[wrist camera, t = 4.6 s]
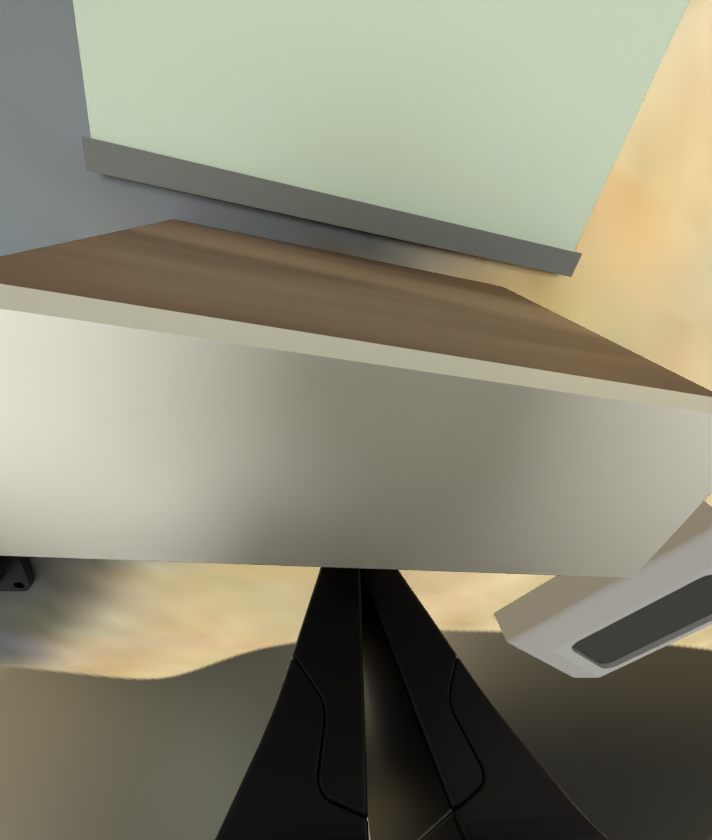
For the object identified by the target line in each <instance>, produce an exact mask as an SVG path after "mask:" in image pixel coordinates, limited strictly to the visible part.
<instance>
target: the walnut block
mask: <svg viewBox="0 0 712 840" xmlns="http://www.w3.org/2000/svg"><path fill="white" fill-rule="evenodd" d="M711 493H712V391H710V390H708V389H706V388H704V387H702V386H700V385H698V384H696V383H694V382H692V381H690V380H688V379H686V378H684V377H682V376H680V375H678V374H676V373H674V372H672V371H670V370H668V369H666V368H664V367H662V366H660V365H658V364H656V363H654V362H652V361H650V360H648V359H646V358H644V357H642V356H640V355H638V354H636V353H634V352H632V351H630V350H628V349H626V348H624V347H622V346H620V345H618V344H616V343H614V342H612V341H610V340H608V339H606V338H604V337H602V336H600V335H598V334H596V333H594V332H592V331H590V330H588V329H586V328H584V327H582V326H580V325H578V324H576V323H574V322H572V321H570V320H568V319H566V318H564V317H562V316H560V315H558V314H556V313H554V312H552V311H550V310H548V309H546V308H544V307H542V306H540V305H538V304H536V303H534V302H532V301H530V300H528V299H526V298H524V297H522V296H520V295H518V294H516V293H514V292H512V291H510V290H508V289H506V288H504V287H501V286H496V285H491V284H486V283H481V282H476V281H472V280H467V279H462V278H457V277H452V276H447V275H442V274H437V273H432V272H428V271H423V270H418V269H413V268H408V267H403V266H398V265H393V264H389V263H384V262H379V261H374V260H369V259H364V258H359V257H354V256H349V255H345V254H340V253H335V252H330V251H325V250H320V249H315V248H310V247H306V246H301V245H296V244H291V243H286V242H281V241H276V240H271V239H266V238H262V237H257V236H252V235H247V234H242V233H237V232H232V231H227V230H223V229H218V228H213V227H208V226H203V225H198V224H193V223H188V222H183V221H179V220H174V219H173V220H168V221H164V222H159V223H154V224H150V225H145V226H140V227H136V228H131V229H127V230H122V231H117V232H113V233H108V234H103V235H99V236H94V237H89V238H85V239H80V240H76V241H71V242H66V243H62V244H57V245H52V246H48V247H43V248H39V249H34V250H29V251H25V252H20V253H15V254H11V255H6V256H1V257H0V556H27V557H56V558H84V559H112V560H140V561H168V562H197V563H225V564H253V565H281V566H310V567H338V568H366V569H394V570H422V571H451V572H479V573H507V574H535V575H563V576H592V577H620V578H633V577H634V576H635V575H636V574H637V573H638V572H639V571H640V570H641V569H642V567H643V566H644V565H645V564H646V563H647V562H648V561H649V560H650V559H651V558H652V557H653V556H654V554H655V553H656V552H657V551H658V550H659V549H660V548H661V547H662V546H663V545H664V544H665V542H666V541H667V540H668V539H669V538H670V537H671V536H672V535H673V534H674V533H675V532H676V531H677V529H678V528H679V527H680V526H681V525H682V524H683V523H684V522H685V521H686V520H687V519H688V517H689V516H690V515H691V514H692V513H693V512H694V511H695V510H696V509H697V508H698V507H699V506H700V504H701V503H702V502H703V501H704V500H705V499H706V498H707V497H708V496H709V495H710V494H711Z"/></svg>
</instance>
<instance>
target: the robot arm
mask: <svg viewBox="0 0 712 840" xmlns="http://www.w3.org/2000/svg"><path fill="white" fill-rule="evenodd" d="M34 581H35V579H34V576H33V573H32V571H31V568H30V566H29V563H28V560H27V558H26V556H0V591H26V590H29V588H30V587H31V586H32V584H33V583H34ZM456 656H457V655H456V653H455V651H454V650H453V648H452V647H451V645H450V644H449V642H448V641H447V640H446V638H445V637H444V635H443V634H442V632H441V631H440V630H439V628H438V627H437V625H436V624H435V622H434V621H433V619H432V618H431V617H430V615H429V614H428V612H427V611H426V609H425V608H424V607H423V605H422V604H421V602H420V601H419V599H418V598H417V596H416V595H415V594H414V592H413V591H412V589H411V588H410V586H409V585H408V583H407V582H406V581H405V579H404V578H403V576H402V575H401V573H400V572H399V571H398V570H394V569H366V568H338V567H321V569H320V572H319V575H318V578H317V581H316V584H315V587H314V590H313V593H312V596H311V599H310V602H309V605H308V608H307V611H306V614H305V618H304V621H303V624H302V627H301V630H300V633H299V636H298V639H297V642H296V645H295V649H294V652H293V654H292V658H291V660H290V663H289V666H288V669H287V672H286V675H285V678H284V681H283V684H282V687H281V690H280V692H279V695H278V698H277V701H276V703H275V706H274V709H273V711H272V714H271V716H270V718H269V721H268V723H267V725H266V728H265V730H264V733H263V735H262V737H261V739H260V742H259V744H258V746H257V748H256V750H255V753H254V755H253V757H252V759H251V761H250V764H249V766H248V768H247V770H246V772H245V774H244V777H243V779H242V781H241V783H240V785H239V787H238V790H237V792H236V794H235V796H234V798H233V801H232V803H231V805H230V807H229V809H228V811H227V813H226V816H225V818H224V820H223V822H222V825H221V827H220V829H219V831H218V833H217V835H216V838H215V839H214V840H369V837H368V836H369V835H368V822H367V820H366V819H367V817H368V821H369V829H370V837H371V840H610V839H609V838H607V837H606V836H605V835H604V834H603V833H602V832H601V831H600V830H599V829H598V828H597V827H596V826H595V825H594V824H592V823H591V821H589V819H588V818H587V817H586V816H585V815H584V814H583V813H582V812H581V811H580V810H579V809H578V808H577V806H576V805H575V804H574V803H573V802H572V801H571V799H569V797H568V796H567V795H566V793H565V792H564V791H563V790H562V789H561V787H560V786H559V785H558V784H557V783H556V781H555V780H554V779H553V778H552V777H551V775H550V774H549V773H548V772H547V770H546V769H545V768H544V767H543V766H542V764H541V763H540V762H539V761H538V759H537V758H536V757H535V756H534V755H533V754H532V752H531V751H530V750H529V749H528V747H527V746H526V745H525V744H524V742H523V741H522V740H521V739H520V738H519V736H518V735H517V734H516V733H515V732H514V730H513V729H512V728H511V727H510V725H509V724H508V723H507V722H506V721H505V719H504V718H503V717H502V715H501V714H500V713H499V711H498V710H497V709H496V708H495V706H494V705H493V704H492V703H491V701H490V700H489V699H488V697H487V696H486V695H485V693H484V692H483V690H482V689H481V688H480V687H479V685H478V684H477V682H476V681H475V680H474V678H473V677H472V675H471V674H470V672H469V671H468V670H467V668H466V667H465V665H464V664H463V662H462V661H461V660H460V658H456Z"/></svg>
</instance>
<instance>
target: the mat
mask: <svg viewBox="0 0 712 840" xmlns="http://www.w3.org/2000/svg"><path fill="white" fill-rule="evenodd" d="M688 2H689V0H73V5H74V13H75V20H76V28H77V35H78V43H79V51H80V58H81V66H82V73H83V81H84V88H85V96H86V103H87V111H88V118H89V126H90V133H91V138H88V137H84V136H82V139H83V146H84V153H85V160H86V167H87V171H91V172H96V173H100V174H105V175H109V176H114V177H118V178H123V179H127V180H132V181H137V182H141V183H146V184H150V185H155V186H159V187H164V188H168V189H173V190H178V191H182V192H187V193H191V194H196V195H200V196H205V197H209V198H214V199H219V200H223V201H228V202H232V203H237V204H241V205H246V206H250V207H255V208H260V209H264V210H269V211H273V212H278V213H282V214H287V215H291V216H296V217H301V218H305V219H310V220H314V221H319V222H323V223H328V224H332V225H337V226H341V227H346V228H351V229H355V230H360V231H364V232H369V233H373V234H378V235H382V236H387V237H392V238H396V239H401V240H405V241H410V242H414V243H419V244H423V245H428V246H433V247H437V248H442V249H446V250H451V251H455V252H460V253H464V254H469V255H474V256H478V257H483V258H487V259H492V260H496V261H501V262H505V263H510V264H515V265H519V266H524V267H528V268H533V269H537V270H542V271H546V272H551V273H556V274H560V275H565V276H569V277H571V276H572V274H573V272H574V270H575V267H576V265H577V263H578V261H579V259H580V257H581V255H582V254H581V253H577V252H574V250H575V247H576V245H577V243H578V241H579V239H580V237H581V234H582V232H583V230H584V228H585V226H586V224H587V221H588V219H589V217H590V215H591V213H592V211H593V208H594V206H595V204H596V202H597V200H598V198H599V195H600V193H601V191H602V189H603V187H604V185H605V182H606V180H607V178H608V176H609V174H610V172H611V169H612V167H613V165H614V163H615V161H616V159H617V156H618V154H619V152H620V150H621V148H622V146H623V143H624V141H625V139H626V137H627V135H628V132H629V130H630V128H631V126H632V124H633V122H634V119H635V117H636V115H637V113H638V111H639V109H640V106H641V104H642V102H643V100H644V98H645V96H646V93H647V91H648V89H649V87H650V85H651V83H652V80H653V78H654V76H655V74H656V72H657V70H658V67H659V65H660V63H661V61H662V59H663V57H664V54H665V52H666V50H667V48H668V46H669V44H670V41H671V39H672V37H673V35H674V33H675V31H676V28H677V26H678V24H679V22H680V20H681V18H682V15H683V13H684V11H685V9H686V7H687V5H688Z"/></svg>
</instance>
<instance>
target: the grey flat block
mask: <svg viewBox="0 0 712 840" xmlns="http://www.w3.org/2000/svg"><path fill="white" fill-rule="evenodd" d="M494 614H495V616H496V618H497V621H498V623H499V625H500V628H501V630H502V632H503V634H504V637H505V639H506V641H507V642H508V643H510V644H512V645H514V646H516V647H517V648H519V649H521V650H523V651H525V652H527V653H529V654H530V655H532V656H534V657H536V658H538V659H540V660H542V661H544V662H545V663H547V664H549V665H551V666H553V667H555V668H557V669H559V670H561V671H562V672H565V673H566V674H568V675H570V676H572V677H574V678H589V677H590V678H593V677H601V676H603V675H605V674H607V673H610V672H612V671H614V670H616V669H618V668H620V667H622V666H624V665H627V664H629V663H631V662H633V661H635V660H637V659H639V658H641V657H643V656H645V655H648V654H650V653H652V652H654V651H656V650H658V649H660V648H662V647H665V646H667V645H669V644H671V643H673V642H675V641H677V640H679V639H681V638H684V637H686V636H688V635H690V634H692V633H694V632H696V631H698V630H700V629H703V628H705V627H707V626H709V625H711V624H712V507H711V506H710V505H708V504H707V503H706V502H705V501H703V502H702V503H701V504H700V506H699V507H698V508H697V509H696V510H695V511H694V512H693V513H692V514H691V515H690V516H689V517H688V519H687V520H686V521H685V522H684V523H683V524H682V525H681V526H680V527H679V528H678V529H677V531H676V532H675V533H674V534H673V535H672V536H671V537H670V538H669V539H668V540H667V541H666V542H665V544H664V545H663V546H662V547H661V548H660V549H659V550H658V551H657V552H656V553H655V554H654V556H653V557H652V558H651V559H650V560H649V561H648V562H647V563H646V564H645V565H644V566H643V567H642V569H641V570H640V571H639V572H638V573H637V574H636V575H635V576H634V577H633V578H620V577H592V576H563V575H557V576H556V577H554V578H552V579H551V580H549V581H547V582H546V583H544V584H542V585H541V586H539V587H537V588H536V589H534V590H532V591H531V592H529V593H527V594H525V595H524V596H522V597H520V598H519V599H517V600H515V601H514V602H512V603H510V604H509V605H507V606H505V607H504V608H502V609H500V610H499V611H497V612H495V613H494Z"/></svg>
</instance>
